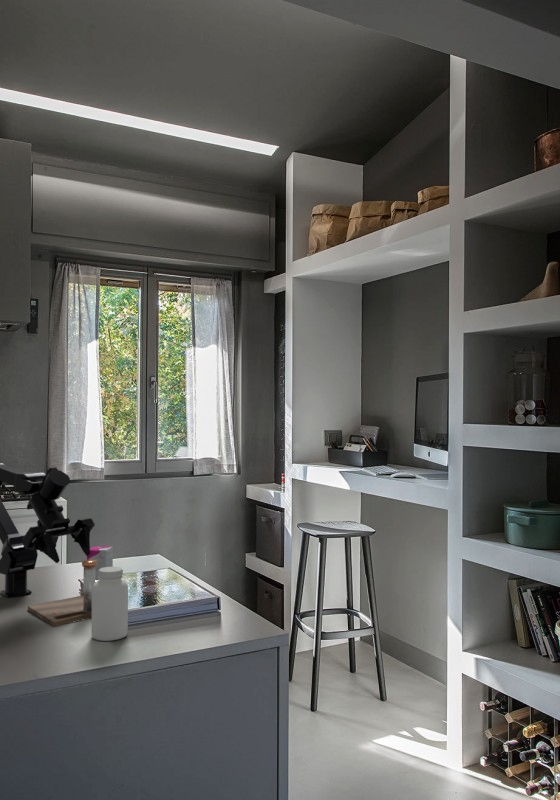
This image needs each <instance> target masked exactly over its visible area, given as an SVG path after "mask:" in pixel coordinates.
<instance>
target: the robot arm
mask: <svg viewBox="0 0 560 800" xmlns="http://www.w3.org/2000/svg"><path fill="white" fill-rule="evenodd" d="M70 479H71V478H70V476H69V475H68V474H67V473H65V472H64V471H62V470H59V469H58V468H57V466H55V467H54V466H53V467H49V468H48V469H47V472H46V473H45V472H41V471H29V472H28V471H23V470H20V469H17V468H15V467H11V466H9V465H6V464H5V463H3V462H0V493H1V491H2V486H3V485H4V483H5V484H7V485H10V486H13V487H14V490H15V492H17V493H18V494H20V495H21V496H31V495H32V496H31V497H30V498H29V499H28V503H27V505H26V510H33V511H34V513H35V515H36V516H37V521H36V523H37V525H35V526H30V527H29V528H28V530H27V532H26V533H25V534H22V535H21V534H20V532H19V530H18V529H17V526H16V525H15V523H14V521H13V519H12V517H11V515H10V513H9V512H8V510H7V508H6V507H5V506H6V505H4V502H3V501H2V500H1V498H0V541H1V543H2V548H1V552H0V555H1V557H0V574H2V575H4V590H0V594H2V595H3V596H5V597H6V598H12V597H19V596H23V595H31V594H32V591H31V590H30V589H28V571H31V570H35V568H36V564H37V561H38V560H37V559H38V555H39V554H38V551H39V552H41V553H43V554H45V555H46V556H47V557H48V558H50V559H51V560H52V561H53V562H54V563H55V564H59V563H60V557H59V553H58V551H57V548H56V547H57V543H58V540H59V537H63V536H69V535H70V536H71V538H72V539H74V540H73V542H74V543H77V544H78V546H79V547H80V548H81V550H82V552H83V553H84V555H85V556H86V558H87V557H88V556H89V555H90V549H91V542H90V537H91V536H90V535H91V531H92V530H93V528H94V527H95V525H96V524H95V522H94V520H93V519H92V518H90V517H86V518H79V519H77V521H76V522H75V523H74V525H70V526H69V524H70V523H71V520H70V518H67V517H66V518H65V516H64V514H63V511H64V507H63V506H62V505H58V504H57V501H56V500H58V499H59V500H60V498H61V497H62V495H63V493H64V492H65V491H66V489H67V487H68V486H69V484H70V482H71V480H70Z"/></svg>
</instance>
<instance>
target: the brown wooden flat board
mask: <svg viewBox="0 0 560 800" xmlns="http://www.w3.org/2000/svg"><path fill="white" fill-rule="evenodd" d="M27 611H29V612H30V613H32V614H33V615H35V616H37V617H38V618H40V619H41V620H43V621H44V622H46V623H48V624H49V625H51V626H53V627H56V626H62V625H66V624H70V623H69V622H71V623H74V622H73V621H76V622H79V621H78V620H80V621H83V620H82V619H85V620H88V619H87V618H89V619H92V612H90V613H86V614H83V595H78V596H72V597H67V598H62V599H57V600H52V601H45V602H42V603H37V604H31V605H28V606H27ZM65 623H66V624H65ZM61 624H62V625H61Z"/></svg>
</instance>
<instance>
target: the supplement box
mask: <svg viewBox="0 0 560 800" xmlns="http://www.w3.org/2000/svg"><path fill="white" fill-rule="evenodd" d="M113 557H114V547H113V546H93V547H90V555H89V556H88V557H87V556H86V560H97V566H95V580H99V579H98V577H99V576H98V575H99V569H101V568H104V567H114V564H113V563H114V560H113V559H114V558H113Z"/></svg>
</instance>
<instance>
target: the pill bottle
mask: <svg viewBox="0 0 560 800" xmlns="http://www.w3.org/2000/svg"><path fill="white" fill-rule="evenodd" d="M123 573H124V569H123V568H122V567H120V566H113V567H104V568H101V569H99V575H98V576H99V577H98V579H99V581H97V582H95V583H94V585H93V587H92V618H91V628H90V629H91V632H90V633H91V637H92V638H93V639H94V640H96V641H102V642H108V641H109V642H110V641H117V640H120V639H123V638H125V637H126V636H127V634H128V630H129V629H128V628H129V626H128V625H129V619H128V618H129V617H128V616H129V586H128V582H127V581H126V580H125V579H123V575H124V574H123Z"/></svg>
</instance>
